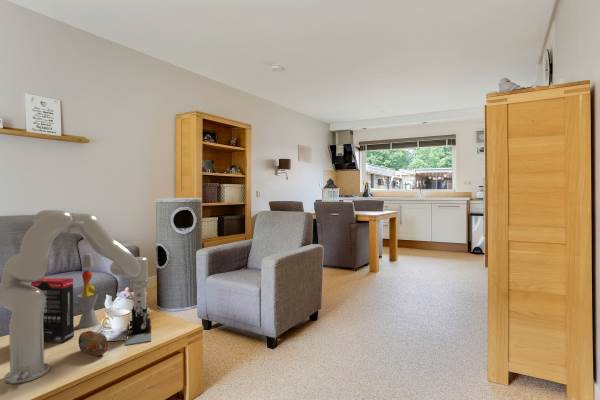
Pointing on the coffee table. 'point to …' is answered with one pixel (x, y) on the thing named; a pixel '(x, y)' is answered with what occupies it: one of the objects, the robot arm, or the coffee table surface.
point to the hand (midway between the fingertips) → (139, 321)
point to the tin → (93, 343)
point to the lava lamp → (87, 296)
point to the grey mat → (138, 339)
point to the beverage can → (139, 328)
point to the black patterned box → (147, 324)
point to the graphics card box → (57, 308)
